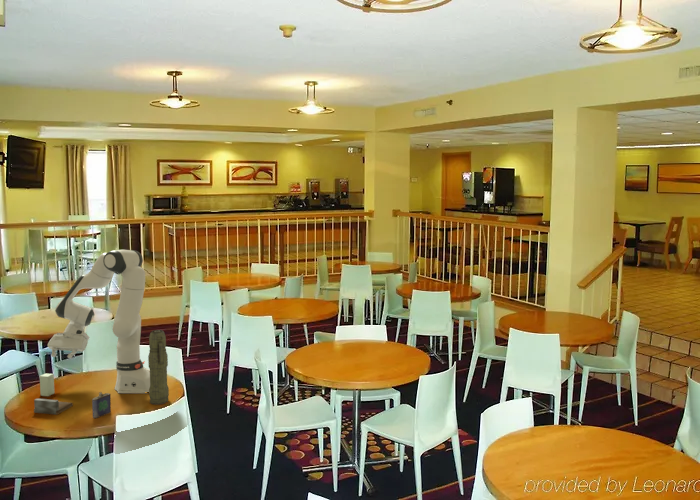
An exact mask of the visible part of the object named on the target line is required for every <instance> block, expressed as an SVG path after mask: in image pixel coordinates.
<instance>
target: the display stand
mask: <svg viewBox="0 0 700 500" xmlns="http://www.w3.org/2000/svg"><path fill="white" fill-rule="evenodd" d="M33 403H34V404H33V405H34V406H33V407H34V409H33V413H35V414H36V413H37V414H48V415H59V414H61V413H62V412H64V411H66V410H68V409H70V408H71V407H73V405H74V404H73V402H67V401H59V400H58V399H47V398H35V399H34V400H33Z"/></svg>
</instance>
